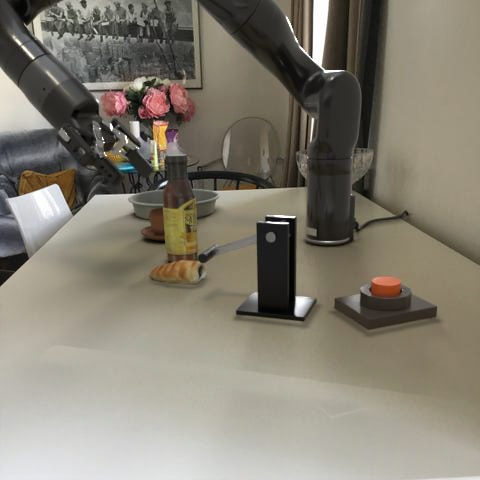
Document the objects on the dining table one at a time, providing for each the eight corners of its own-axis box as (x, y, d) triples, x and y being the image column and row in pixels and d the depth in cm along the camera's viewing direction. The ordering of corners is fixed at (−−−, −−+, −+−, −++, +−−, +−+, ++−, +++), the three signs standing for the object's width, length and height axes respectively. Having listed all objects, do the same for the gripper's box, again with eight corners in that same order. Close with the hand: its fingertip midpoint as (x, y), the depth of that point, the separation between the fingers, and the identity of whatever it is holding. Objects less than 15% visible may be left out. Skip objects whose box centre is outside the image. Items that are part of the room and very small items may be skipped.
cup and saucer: (131, 242, 124) (128, 214, 122) (158, 230, 135) (156, 204, 132) (179, 246, 120) (177, 217, 118) (203, 233, 130) (202, 206, 128)
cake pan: (218, 220, 142) (217, 202, 140) (121, 223, 143) (119, 205, 141) (222, 202, 165) (221, 186, 163) (138, 204, 165) (137, 189, 164)
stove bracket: (236, 318, 82) (232, 224, 76) (253, 300, 88) (251, 212, 83) (303, 326, 78) (305, 227, 73) (316, 306, 85) (318, 215, 80)
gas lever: (201, 267, 82) (195, 252, 81) (215, 257, 87) (209, 242, 86) (283, 242, 76) (277, 225, 76) (293, 232, 81) (288, 217, 80)
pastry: (145, 286, 96) (143, 264, 95) (158, 274, 102) (157, 254, 101) (198, 289, 94) (197, 266, 93) (209, 276, 100) (208, 255, 99)
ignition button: (389, 286, 82) (389, 275, 81) (406, 295, 78) (407, 283, 78) (365, 290, 80) (365, 278, 80) (381, 299, 77) (382, 287, 76)
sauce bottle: (193, 265, 107) (187, 156, 99) (162, 264, 108) (153, 156, 100) (202, 256, 113) (197, 152, 105) (172, 255, 114) (165, 152, 106)
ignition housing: (397, 300, 86) (399, 275, 85) (436, 321, 79) (439, 293, 77) (333, 312, 83) (334, 286, 81) (368, 334, 75) (370, 306, 73)
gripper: (40, 75, 75) (125, 166, 75) (99, 76, 87) (172, 154, 88) (14, 118, 79) (96, 204, 79) (75, 113, 91) (145, 188, 92)
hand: (136, 178), depth 84 cm, fingers open, 8 cm apart
